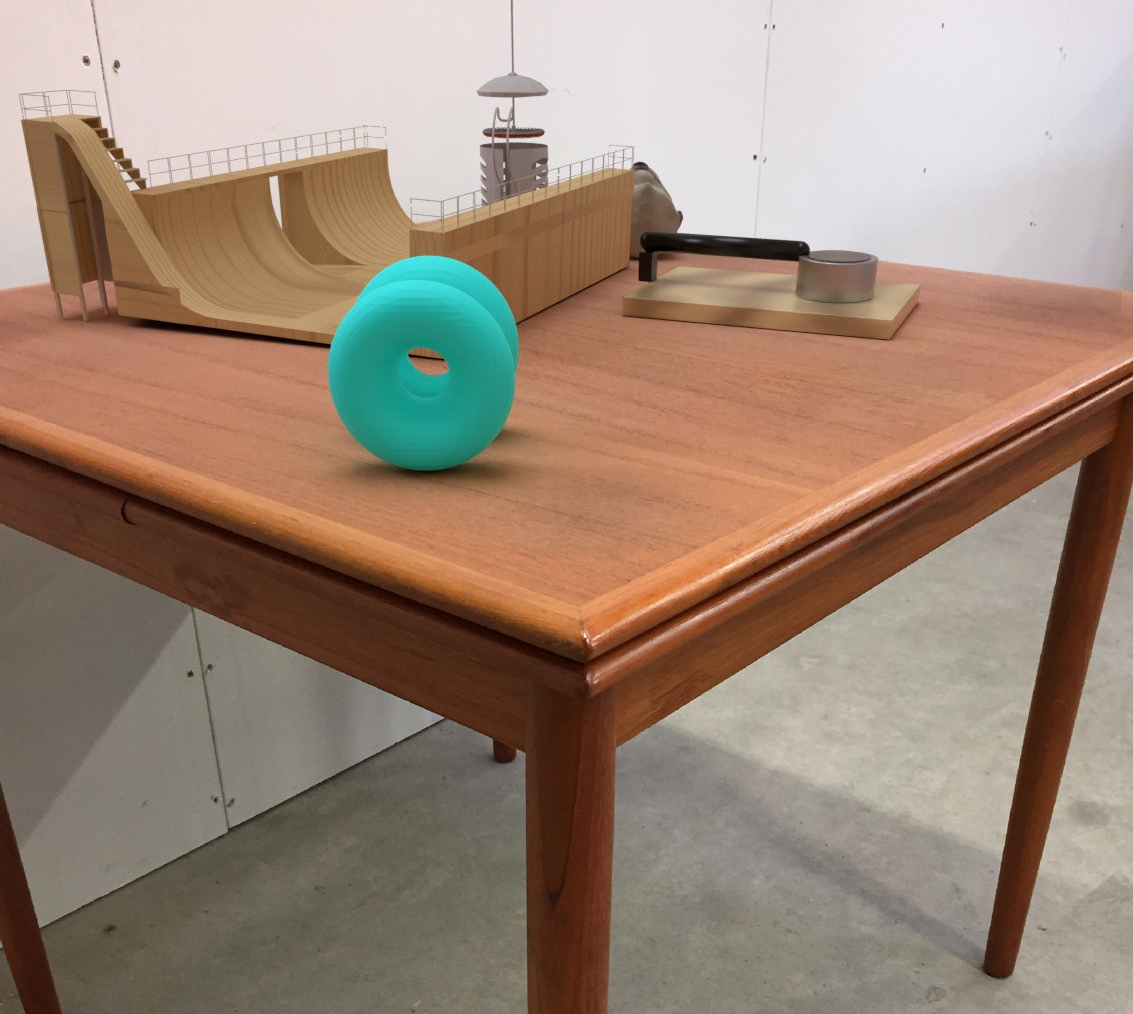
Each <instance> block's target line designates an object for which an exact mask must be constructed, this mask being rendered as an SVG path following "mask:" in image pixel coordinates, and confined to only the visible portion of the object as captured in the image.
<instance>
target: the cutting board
mask: <svg viewBox="0 0 1133 1014" xmlns="http://www.w3.org/2000/svg"><path fill="white" fill-rule="evenodd" d="M796 283H797V274H786V273H785V274H784V273H773V272H758V271H748V270H747V271H746V270H734V269H733V270H732V269H721V268H720V269H719V268H706V267H692V266H681V265H680V266H675V267H674V268H672V269H671V270H669V271H667V272H665V273H663V274H662V275H660V276H657V279H655V280H654V281H652V282H646V284H644V285H642V286H640V287H638V288H637V289H635V290H633V291H631V292H629V293H628V294H626V295H624V296H622V316H624V317H634V318H635V317H637V318H644V319H645V318H646V319H657V320H666V321H677V322H687V323H688V322H690V323H699V324H700V323H701V324H711V325H722V326H735V327H745V328H757V329H767V330H778V331H787V332H799V333H800V332H801V333H810V334H820V335H832V336H843V337H854V338H867V339H875V340H876V339H877V340H887V341H888V340H890V339H891V338H892V337H893V335H894V334H896V332H897V330H898V329H899V328H900V326H901V325H902V324H903V322H904V321H905V320H906V319H907V317H908V316H909V315H910V313H911V312H912V311H913V310H914V308H915V307H916V306H917V304H919V300H920V293H921V286H922V285H921V284H915V283H904V282H892V281H891V282H890V281H878V280H876V282H875V290H874V297H873V298H872V299H870V300H868V301H864V302H856V303H827V302H818V301H811V300H807V299H803V298H801V297H798V296H797V295H796Z"/></svg>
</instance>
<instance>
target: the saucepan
mask: <svg viewBox="0 0 1133 1014" xmlns="http://www.w3.org/2000/svg"><path fill="white" fill-rule="evenodd" d="M640 246H641V247H642V248H643V249H644V250H643V251H641V252H639V258H638V274H637V276H638V277H637V279H638V280H637V281H638V282H645V283H649V282H652V281H654V280H655V279H657V278H658V256H659V255H658V252H664V253H671V254H681V255H682V254H683V255H684V254H686V255H697V256H698V255H699V256H712V257H724V258H725V257H726V258H739V259H753V260H766V261H778V262H779V261H781V262H795V263H798V265H797V271H796V272H797V274H796V275H797V283H796V295H797V296H798V297H801V298H803V299H807V300H811V301H818V302H827V303H856V302H864V301H868V300H870V299H872V298H873V297H874V290H875V282H876V281H877V274H878V273H877V272H878V267H879V266H878V265H879V258H878V256H876V255H874V254H871V253H867V252H860V251H854V250H843V249H824V250H823V249H821V250H811V248H810V245H809V244H808V243H807V242H806V241H803V240H793V239H791V240H790V239H776V238H763V237H762V238H761V237H745V236H733V235H716V234H703V233H686V232H677V233H674V232H659V231H646V232H644V233H643V234H642V235H641V237H640Z"/></svg>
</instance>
